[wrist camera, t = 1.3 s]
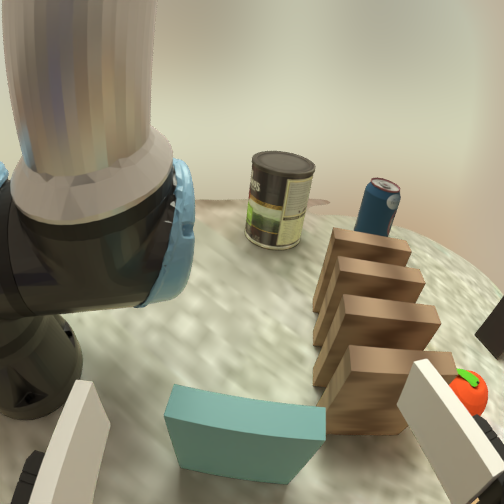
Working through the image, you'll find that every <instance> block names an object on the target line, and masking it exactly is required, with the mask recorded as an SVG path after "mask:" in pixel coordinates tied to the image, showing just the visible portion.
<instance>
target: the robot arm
mask: <svg viewBox="0 0 504 504" xmlns="http://www.w3.org/2000/svg"><path fill="white" fill-rule="evenodd" d="M157 1H158V0H2V23H3V41H4V54H5V64H6V72H7V80H8V86H9V93H10V99H11V105H12V110H13V115H14V120H15V125H16V129H17V134H18V138H19V142H20V146H21V150H22V154H23V155H22V157H21V159H20V160H19V162H18V164H17V165H16V167H15V169H14V172H13V174H12V178H11V180H8V170H7V169H6V168H5V166H4V164H3V163H2V162H0V413H2V414H4V415H6V416H8V417H11V418H14V419H20V420H30V419H36V418H40V417H43V416H45V415H47V414H49V413H51V412H53V411H54V410H56V409H57V408H59V407H60V406H61V405H62V404H63V403H64V402H65V401H66V400H67V401H66V404H65V406H64V408H63V411H62V413H61V415H60V418H59V420H58V423H57V425H56V427H55V430H54V432H53V435H52V438H51V440H50V443H49V445H48V448H47V451H46V453H43V452H39V451H36V450H35V451H34V452H33V453H32V454H31V455H30V456H29V457H28V458H27V459H26V462H25V465H24V467H23V470H22V471H23V472H22V473H21V475H20V478H19V482H18V483H17V486H16V489H15V492H14V495H13V498H12V501H11V504H92V502H93V497H94V492H95V488H96V483H97V479H98V474H99V470H100V466H101V462H102V457H103V453H104V449H105V445H106V441H107V438H108V434H109V430H110V426H111V424H110V422H109V419H108V417H107V415H106V413H105V410H104V408H103V406H102V403H101V401H100V398H99V396H98V394H97V391H96V389H95V386H94V383H93V381H84V380H79V379H80V375H81V371H82V364H83V358H82V351H81V347H80V345H79V342H78V340H77V338H76V336H75V333H74V331H73V330H72V328H71V326H70V325H69V324H68V323H67V321H66V320H65V319H64V318H63V317H62V316H61V315H60V314H66V313H76V312H86V311H96V310H107V309H117V308H127V307H134V308H141V307H145V306H147V305H148V304H151V303H157V302H162V301H168V300H171V299H173V298H175V297H177V296H178V295H179V294H180V293H181V292H182V291H183V290H184V288H185V286H186V284H187V282H188V279H189V276H190V272H191V267H192V261H193V254H194V243H195V237H194V232H193V226H194V222H195V197H194V188H193V182H192V177H191V174H190V170H189V168H188V166H187V164H186V163H185V162H184V161H182V160H179V159H175V158H173V151H172V147H171V145H170V143H169V141H168V140H167V138H166V137H165V136H164V135H163V134H162V133H160V132H159V131H158V130H156V129H155V128H154V127H153V126H151V125H150V108H151V107H150V106H151V77H152V58H153V57H152V56H153V44H154V30H155V20H156V10H157ZM397 406H398V408H399V410H400V411H401V413H402V415H403V417H404V418H405V420H406V422H407V424H408V425H409V427H410V429H411V431H412V432H413V434H414V436H415V438H416V439H417V441H418V443H419V445H420V447H421V448H422V450H423V452H424V454H425V455H426V457H427V459H428V461H429V463H430V465H431V466H432V468H433V470H434V472H435V474H436V476H437V477H438V479H439V481H440V483H441V485H442V487H443V489H444V491H445V493H446V494H447V496H448V498H449V500H450V502H451V504H471V503H472V502H473V501H474V500H475V499H476V498H479V500H480V501H479V502H477V503H476V504H504V444H503V443H502V441H501V440H500V439H499V437H497V434H496V433H495V432H494V431H493V430H492V428H491V426H490V425H489V424H488V422H487V421H486V420H485V419H483V418H482V417H481V416H479V415H478V414H476V415H474V416H471V415H470V413H469V412H468V411H467V409H466V408H465V407H464V405H463V404H462V402H461V401H460V400H459V399H458V397H457V396H456V395H455V393H454V392H453V391H452V389H451V388H450V387H449V385H448V384H447V383H446V382H445V380H444V379H443V378H442V376H441V375H440V374H439V373H438V371H437V370H436V369H435V368H434V366H433V365H432V364H431V363H430V361H429V360H428V359H423V360H419V361H414V362H413V365H412V367H411V370H410V373H409V375H408V378H407V381H406V383H405V386H404V388H403V390H402V393H401V395H400V398H399V400H398V402H397Z"/></svg>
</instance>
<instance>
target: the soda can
mask: <svg viewBox="0 0 504 504" xmlns="http://www.w3.org/2000/svg"><path fill="white" fill-rule="evenodd" d="M400 198H401V197H400V187H399V186H398V185H397V184H395V183H393V182H391V181H389V180H386V179H383V178H372V179H371V182H370V183H369V184H368V185H367V186H366V188H365V192H364V196H363V199H362V203H361V207H360V210H359V214H358V217H357V220H356V224H355V227H354V231H356V232H362V233H368V234H373V235H378V236H384V237H388V235H389V232H390V229H391V226H392V223H393V220H394V217H395V214H396V211H397V208H398V205H399V202H400Z"/></svg>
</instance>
